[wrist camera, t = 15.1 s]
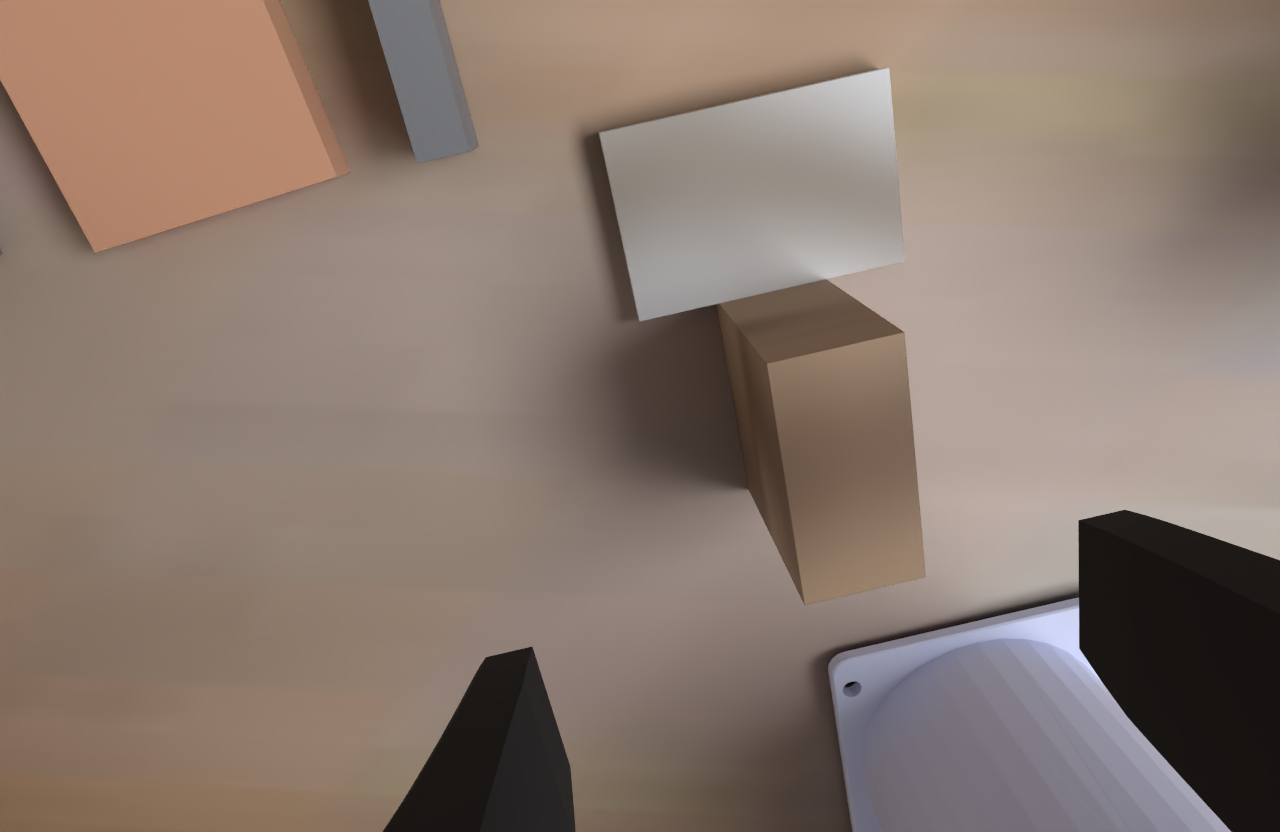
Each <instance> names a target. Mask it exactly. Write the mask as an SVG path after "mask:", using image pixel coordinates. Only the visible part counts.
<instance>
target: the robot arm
mask: <svg viewBox="0 0 1280 832" xmlns="http://www.w3.org/2000/svg"><path fill="white" fill-rule="evenodd" d="M828 673H829V680H830V686H831V693H832V700H833V706H834V713H835V720H836V726H837V733H838V740H839V746H840V753H841V760H842V766H843V773H844V780H845V787H846V793H847V800H848V807H849V813H850V820H851V827H852V832H1280V560H1277V559H1274V558H1271V557H1268V556H1265V555H1262V554H1259V553H1256V552H1254V551H1251V550H1248V549H1245V548H1242V547H1239V546H1236V545H1233V544H1230V543H1227V542H1225V541H1222V540H1219V539H1216V538H1213V537H1210V536H1207V535H1204V534H1201V533H1198V532H1195V531H1192V530H1189V529H1186V528H1183V527H1180V526H1177V525H1174V524H1171V523H1168V522H1165V521H1162V520H1159V519H1156V518H1152V517H1149V516H1146V515H1142V514H1138V513H1135V512H1131V511H1127V510H1122V511H1118V512H1114V513H1109V514H1105V515H1101V516H1096V517H1092V518H1088V519H1083V520H1079V597H1078V598H1074V599H1069V600H1065V601H1061V602H1056V603H1052V604H1048V605H1044V606H1039V607H1035V608H1031V609H1026V610H1022V611H1018V612H1013V613H1009V614H1005V615H1000V616H996V617H992V618H987V619H983V620H979V621H974V622H970V623H966V624H962V625H957V626H953V627H949V628H944V629H940V630H936V631H931V632H927V633H923V634H918V635H914V636H910V637H905V638H901V639H897V640H892V641H888V642H884V643H880V644H875V645H871V646H867V647H862V648H858V649H854V650H849V651H845V652H842V653H840V654H837V655H836V656H835V657H834V658H832V660H831V661H830V663H829V667H828ZM852 681H856V682H855V683H854V685H852V686H850V687H844V686H845V685H846V684H847V683H849V682H852ZM383 832H575V820H574V806H573V794H572V782H571V771H570V765H569V761H568V758H567V755H566V752H565V749H564V746H563V742H562V739H561V736H560V733H559V730H558V727H557V723H556V720H555V717H554V714H553V711H552V708H551V704H550V701H549V698H548V695H547V692H546V689H545V685H544V682H543V679H542V676H541V673H540V670H539V667H538V663H537V660H536V657H535V654H534V651H533V648H532V647H529V648H525V649H520V650H516V651H512V652H507V653H503V654H499V655H494V656H490V657H486V658H485V660H484V661H483V663H482V664H481V666H480V667H479V669H478V671H477V673H476V674H475V676H474V678H473V680H472V682H471V683H470V685H469V687H468V689H467V691H466V693H465V695H464V696H463V698H462V700H461V702H460V704H459V706H458V708H457V709H456V711H455V713H454V715H453V717H452V718H451V720H450V722H449V724H448V726H447V727H446V729H445V731H444V733H443V735H442V736H441V738H440V740H439V742H438V743H437V745H436V747H435V748H434V750H433V752H432V753H431V755H430V757H429V759H428V760H427V762H426V764H425V765H424V767H423V769H422V770H421V772H420V774H419V775H418V777H417V779H416V780H415V782H414V784H413V786H412V787H411V789H410V790H409V792H408V794H407V795H406V797H405V799H404V800H403V802H402V803H401V805H400V806H399V808H398V809H397V811H396V812H395V814H394V815H393V817H392V819H391V820H390V822H389V823H388V825H387V826H386V828H385V829H384V831H383Z"/></svg>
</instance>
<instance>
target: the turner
mask: <svg viewBox="0 0 1280 832" xmlns="http://www.w3.org/2000/svg"><path fill="white" fill-rule="evenodd" d="M598 134H599V139H600V144H601V148H602V153H603V158H604V162H605V167H606V171H607V176H608V181H609V185H610V190H611V195H612V199H613V204H614V209H615V213H616V218H617V223H618V227H619V232H620V237H621V241H622V246H623V250H624V255H625V260H626V264H627V269H628V274H629V278H630V283H631V288H632V292H633V297H634V302H635V306H636V311H637V315H638V318H639V321H644V320H649V319H653V318H657V317H662V316H666V315H671V314H675V313H679V312H684V311H688V310H693V309H697V308H701V307H706V306H710V305H714V304H716V307H717V312H718V318H719V324H720V329H721V335H722V340H723V346H724V352H725V357H726V363H727V369H728V374H729V380H730V386H731V391H732V397H733V403H734V408H735V414H736V420H737V425H738V431H739V437H740V442H741V448H742V454H743V459H744V465H745V471H746V476H747V482H748V488H749V491H750V493H751V495H752V497H753V499H754V501H755V503H756V506H757V508H758V510H759V512H760V514H761V516H762V518H763V520H764V522H765V524H766V526H767V528H768V530H769V532H770V534H771V536H772V539H773V541H774V543H775V545H776V547H777V549H778V551H779V553H780V555H781V557H782V559H783V561H784V563H785V565H786V567H787V569H788V572H789V574H790V576H791V578H792V580H793V582H794V584H795V586H796V588H797V590H798V592H799V594H800V596H801V598H802V600H803V602H804V605H807V604H812V603H816V602H820V601H825V600H829V599H833V598H838V597H842V596H846V595H851V594H855V593H859V592H864V591H868V590H872V589H876V588H881V587H885V586H889V585H894V584H898V583H902V582H907V581H911V580H915V579H920V578H924V577H926V573H925V561H924V550H923V539H922V527H921V516H920V505H919V493H918V482H917V470H916V459H915V448H914V436H913V425H912V413H911V402H910V391H909V379H908V368H907V357H906V345H905V334H904V332H903V331H902V330H900V329H899V328H897V327H896V326H894V325H893V324H891V323H890V322H888V321H887V320H885V319H884V318H882V317H881V316H879V315H878V314H877V313H875V312H874V311H872V310H871V309H869V308H868V307H866V306H865V305H863V304H862V303H860V302H859V301H857V300H856V299H854V298H853V297H851V296H850V295H849V294H847V293H846V292H844V291H843V290H841V289H840V288H838V287H837V286H835V285H834V284H832V283H831V282H829V281H828V280H826V279H829V278H833V277H837V276H842V275H846V274H851V273H855V272H859V271H864V270H868V269H872V268H877V267H881V266H886V265H890V264H894V263H899V262H903V261H905V251H904V239H903V227H902V216H901V204H900V192H899V180H898V168H897V156H896V144H895V133H894V121H893V109H892V97H891V85H890V73H889V68H880V69H875V70H870V71H866V72H861V73H857V74H853V75H848V76H844V77H839V78H835V79H830V80H826V81H821V82H817V83H813V84H808V85H804V86H799V87H795V88H790V89H786V90H782V91H777V92H773V93H768V94H764V95H759V96H755V97H750V98H746V99H742V100H737V101H733V102H728V103H724V104H719V105H715V106H711V107H706V108H702V109H697V110H693V111H688V112H684V113H679V114H675V115H671V116H666V117H662V118H657V119H653V120H648V121H644V122H640V123H635V124H631V125H626V126H622V127H617V128H613V129H608V130H604V131H600V132H598Z"/></svg>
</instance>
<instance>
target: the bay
mask: <svg viewBox="0 0 1280 832" xmlns="http://www.w3.org/2000/svg"><path fill="white" fill-rule="evenodd" d="M368 2H369V5H370V8H371V12H372V15H373V18H374V22H375V25H376V28H377V32H378V35H379V38H380V42H381V45H382V48H383V52H384V55H385V58H386V62H387V65H388V68H389V72H390V75H391V79H392V82H393V85H394V89H395V92H396V95H397V99H398V102H399V105H400V109H401V112H402V115H403V119H404V122H405V125H406V129H407V132H408V135H409V139H410V142H411V145H412V149H413V152H414V155H415V159H416V162H417V163H422V162H426V161H430V160H435V159H439V158H444V157H448V156H453V155H457V154H462V153H466V152H470V151H472V150H473V149H475V148H477V147H478V142H477V139H476V135H475V131H474V127H473V124H472V120H471V116H470V113H469V109H468V105H467V101H466V98H465V94H464V90H463V87H462V83H461V79H460V76H459V72H458V68H457V64H456V61H455V57H454V53H453V50H452V46H451V42H450V38H449V35H448V31H447V27H446V24H445V20H444V16H443V13H442V9H441V5H440V1H439V0H368ZM0 254H2V252H1V250H0Z"/></svg>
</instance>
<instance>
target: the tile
mask: <svg viewBox="0 0 1280 832" xmlns="http://www.w3.org/2000/svg"><path fill="white" fill-rule="evenodd" d="M0 80H1V82H2V84H3V86H4V88H5V89H6V91H7V93H8V95H9V97H10V99H11V100H12V102H13V104H14V106H15V108H16V109H17V111H18V113H19V115H20V117H21V119H22V120H23V122H24V124H25V126H26V128H27V130H28V131H29V133H30V135H31V137H32V139H33V141H34V142H35V144H36V146H37V148H38V150H39V152H40V153H41V155H42V157H43V159H44V161H45V163H46V164H47V166H48V168H49V170H50V172H51V174H52V175H53V177H54V179H55V181H56V183H57V184H58V186H59V188H60V190H61V192H62V194H63V195H64V197H65V199H66V201H67V203H68V205H69V206H70V208H71V210H72V212H73V214H74V216H75V217H76V219H77V221H78V223H79V225H80V227H81V228H82V230H83V232H84V234H85V236H86V238H87V239H88V241H89V243H90V245H91V247H92V248H93V250H94V252H95V253H97V252H100V251H103V250H106V249H110V248H113V247H116V246H119V245H122V244H125V243H129V242H132V241H135V240H138V239H141V238H144V237H148V236H151V235H154V234H157V233H160V232H163V231H167V230H170V229H173V228H176V227H179V226H183V225H186V224H189V223H192V222H195V221H198V220H202V219H205V218H208V217H211V216H214V215H217V214H221V213H224V212H227V211H230V210H233V209H236V208H240V207H243V206H246V205H249V204H252V203H255V202H259V201H262V200H265V199H268V198H271V197H275V196H278V195H281V194H284V193H287V192H290V191H294V190H297V189H300V188H303V187H306V186H309V185H313V184H316V183H319V182H322V181H325V180H328V179H332V178H335V177H338V176H341V175H344V174H347V173H350V169H349V167H348V165H347V162H346V160H345V157H344V155H343V152H342V150H341V148H340V145H339V143H338V140H337V138H336V136H335V133H334V131H333V128H332V126H331V123H330V121H329V119H328V116H327V114H326V111H325V109H324V106H323V104H322V102H321V99H320V97H319V94H318V92H317V89H316V87H315V85H314V82H313V80H312V77H311V75H310V73H309V70H308V68H307V65H306V63H305V60H304V58H303V56H302V53H301V51H300V48H299V46H298V43H297V41H296V39H295V36H294V34H293V31H292V29H291V26H290V24H289V22H288V19H287V17H286V14H285V12H284V10H283V7H282V5H281V2H280V0H0Z"/></svg>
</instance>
